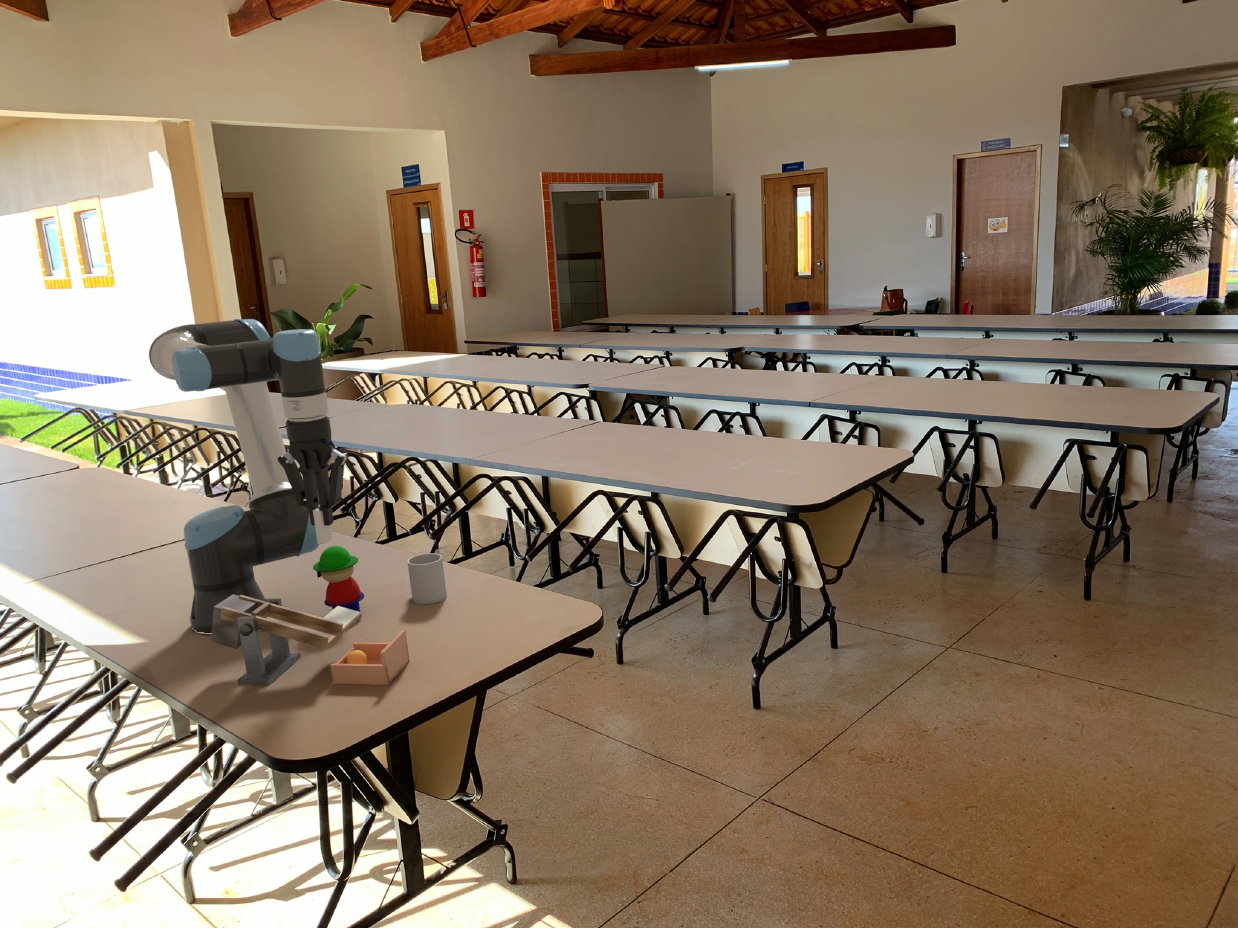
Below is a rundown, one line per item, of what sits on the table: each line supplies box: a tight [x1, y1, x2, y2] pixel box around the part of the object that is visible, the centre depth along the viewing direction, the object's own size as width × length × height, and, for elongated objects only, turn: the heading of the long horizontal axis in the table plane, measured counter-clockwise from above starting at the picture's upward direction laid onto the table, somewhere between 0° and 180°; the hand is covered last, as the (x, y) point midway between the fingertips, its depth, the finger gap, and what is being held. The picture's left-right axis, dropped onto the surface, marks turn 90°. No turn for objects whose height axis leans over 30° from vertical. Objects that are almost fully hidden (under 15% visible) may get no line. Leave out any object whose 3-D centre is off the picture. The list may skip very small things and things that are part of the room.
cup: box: [407, 552, 447, 606], centre depth 194 cm, size 7×10×9 cm
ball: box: [347, 650, 367, 664], centre depth 160 cm, size 4×4×4 cm
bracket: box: [236, 598, 302, 686], centre depth 163 cm, size 6×11×12 cm, turn 170°
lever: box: [210, 594, 363, 650], centre depth 166 cm, size 22×14×8 cm, turn 80°
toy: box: [312, 545, 365, 612], centre depth 186 cm, size 9×9×15 cm
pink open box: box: [330, 629, 410, 686], centre depth 160 cm, size 10×9×6 cm
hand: (324, 541), depth 168 cm, fingers closed
